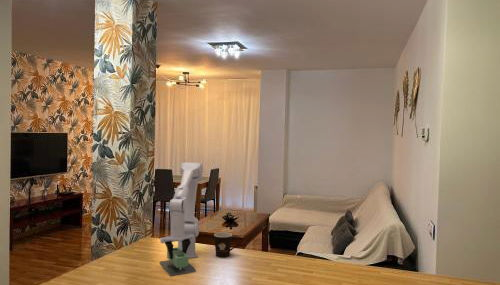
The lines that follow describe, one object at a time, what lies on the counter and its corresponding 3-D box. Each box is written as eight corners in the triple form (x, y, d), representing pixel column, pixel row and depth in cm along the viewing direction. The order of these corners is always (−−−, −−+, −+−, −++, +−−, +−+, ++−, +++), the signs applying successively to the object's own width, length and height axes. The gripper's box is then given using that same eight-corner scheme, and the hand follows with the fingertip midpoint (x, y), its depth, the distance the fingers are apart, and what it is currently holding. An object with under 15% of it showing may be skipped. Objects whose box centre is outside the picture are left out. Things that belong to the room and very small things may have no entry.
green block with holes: (167, 257, 174) (167, 248, 174) (178, 256, 176) (178, 247, 176) (176, 267, 162) (176, 258, 162) (188, 266, 164) (188, 256, 164)
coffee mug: (210, 256, 184) (210, 235, 184) (219, 251, 192) (220, 231, 192) (231, 261, 179) (231, 239, 178) (240, 255, 187) (241, 234, 186)
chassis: (159, 263, 174) (159, 251, 174) (183, 260, 179) (183, 248, 179) (170, 276, 160) (170, 262, 159) (195, 271, 165) (196, 258, 165)
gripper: (163, 230, 162) (163, 263, 162) (197, 226, 168) (196, 258, 169) (159, 226, 168) (158, 257, 168) (191, 223, 175) (191, 253, 175)
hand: (177, 257), depth 169 cm, fingers closed on green block with holes, 5 cm apart
